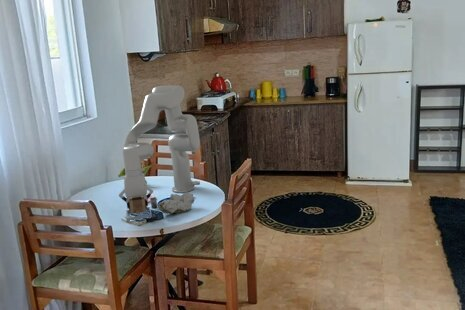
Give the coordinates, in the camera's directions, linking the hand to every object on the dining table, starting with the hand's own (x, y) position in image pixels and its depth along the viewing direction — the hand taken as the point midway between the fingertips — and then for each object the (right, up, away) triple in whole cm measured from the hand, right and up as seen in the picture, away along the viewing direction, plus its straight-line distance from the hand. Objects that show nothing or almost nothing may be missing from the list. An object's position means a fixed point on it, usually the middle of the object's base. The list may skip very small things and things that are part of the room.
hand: (137, 208), depth 217 cm
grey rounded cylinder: (+6, -1, +12) cm, 14 cm away
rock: (+19, -2, +4) cm, 19 cm away
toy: (-11, +7, +52) cm, 53 cm away
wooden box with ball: (0, -1, 0) cm, 1 cm away
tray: (0, -4, +1) cm, 4 cm away
